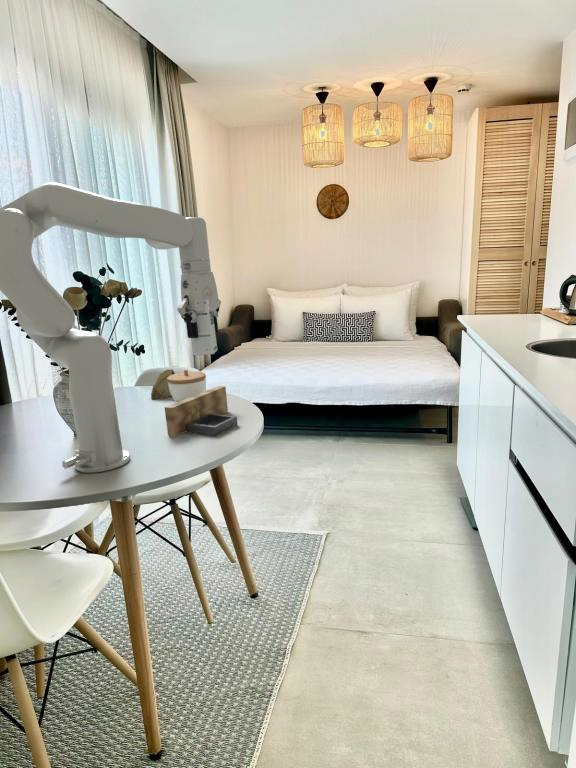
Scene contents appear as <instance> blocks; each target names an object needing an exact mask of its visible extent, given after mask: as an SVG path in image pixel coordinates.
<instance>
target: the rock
mask: <svg viewBox="0 0 576 768" xmlns="http://www.w3.org/2000/svg"><path fill="white" fill-rule="evenodd" d="M173 374H176V373H175V372H174V369H166V370H164V371H163V372H161V373H160V374H159V375H158V377H157V380H156V381H155V383H154V384H153V386H152V389H151V394H150V399H152V400H153V399H162V398H161V397H164V398H168V397H167V396H171V394H170V391H169V386H168V381H167V378H168V377H169V376H171V375H173Z"/></svg>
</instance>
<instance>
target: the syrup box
mask: <svg viewBox="0 0 576 768" xmlns="http://www.w3.org/2000/svg"><path fill="white" fill-rule="evenodd" d="M204 304H205V311H204V312H200V313H198V312H197V316H196V320H195V322H197V327H198V338H190V341H191V348H192V355H194V356H206V355H208V356H209V355H215V353H216V352H217V351H218V350H219V349H218V343H217V335H216V334H217V333H215V325H214V317H213V311H212V310H210V306H209V300H208V299H204ZM187 309H188V310H192V308H191V306H190V304H188V306H187ZM189 315H190V316H192V314H189Z"/></svg>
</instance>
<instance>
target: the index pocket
mask: <svg viewBox="0 0 576 768" xmlns="http://www.w3.org/2000/svg"><path fill="white" fill-rule="evenodd" d="M210 424H215V425H210ZM237 426H238V417H237V416H234V415H226V414H222V415H219V414H210V413H208V414H206V415H204V416H202V417H199V418H197V419H195V420H193V421H191V422H188V423H186V430H187V431H186V433H188V432H190V434H195V433H196V435H202V434H203V436H209V435H210V436H211V437H217V435H218V436H220V435H222V434H223V433H225V432H227V431H229V430H230V429H231V430H232V429H233V428H235V427H237ZM210 436H209V437H210Z"/></svg>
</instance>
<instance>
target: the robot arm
mask: <svg viewBox="0 0 576 768" xmlns="http://www.w3.org/2000/svg"><path fill="white" fill-rule="evenodd" d="M56 226H58V227H59V226H60V227H64V228H68V229H72V230H76V231H77V230H78V231H82V232H85V233H88V234H89V233H90V234H93V235H97V236H101V237H105V238H115V239H124V238H125V239H127V238H128V239H144V240H145V242H146V243H147V245H149V246H150V247H151V248H153V249H156V250H169V249H177V248H178V253H179V261H180V266H179V267H180V269H181V275H180V297H181V303H179V306H178V307H177V308H176V309H177V310H176V311H177V312H178V314H179V315H180V318H182V319H183V322H184V324H185V326H186V335H187V338H189V339H191V338H198V327H197V322H195V320H196V316H197V312H198V313H200V312H204V311H205V304H204V299H208V300H209V306H210V310H212V311H213V317H214V325H215V333H216V334H218V333H219V324H218V317H219V312H220V307H221V304H222V301H221V300H220V299H219V293H218V289H217V288H218V287H217V283H216V279H215V275H214V273H213V271H212V268H211V260H210V249H209V238H208V232H207V231H208V230H207V223H206V221H205V218H202V217H199V216H198V217H197V216H195V217H194V216H192V217H186V216H184V215H182V214H179V213H177V212H174V211H170V210H167V209H164V208H161V207H157V206H152V205H147V204H141V203H136V202H130V201H125V200H120V199H114V198H111V197H108V196H104V195H100V194H96V193H94V192H90V191H85V190H83V189H80V188H76V187H73V186H69V185H66V184H62V183H59V182H47V183H44V184H42V185H39V186H37V187H35V188H33V189H31V190H29V191H28V192H26V193H24V194H23V195H22V196H20V197H18V198H17V199H14V200H13V201H11V202H9V203H7V204H6V205H4V206H2V207H0V292H1V293H2V294H3V295H4V296H5V297H6V299H7V300H8V301H9V302H10V303H11V304H12V306H13V307H14V308H15V309H16V313H15V314H16V320H17V322H18V324H19V326H20V328H21V329H22V331H23V332H25V333H26V335H27V336H28V337H29V338H30V339H31V340H32V341H33V342H34V343H35V344H36V345H37V346H38V347H39V348H40V349H41V350H42V351H43V352H44V353H45V354H46V355H47V356H48V357H49V358H50V359H51V360H52V361H53V362H54V363H56V364H57V365H58V366H60V367H62V368H64V369H67V370H68V388H69V389H68V391H69V392H68V393H69V397H70V404H71V408H72V414H73V420H74V428H75V432H76V437H77V438H76V439H77V444H78V449H75V450H74V452H75V454H74V455H73V457H71V458H70V457H69V458H67V459H65V460H63V461H62V462H61V464H62V467H63V468H64V469H65V470H67V469H69V468H71V467H74V468H75V469H76V471H79V472H81V473H88V474H89V473H92V474H94V473H100V472H107V471H111V470H114V469H117V468H121V467H122V466H123V465H126V464H127V463H128V462H129V461H130V460H131V454H130V452H129V451H128V450H125V449H123V444H122V439H121V437H122V436H121V431H120V430H121V429H120V425H119V423H120V422H119V418H118V411H117V410H118V409H117V404H116V398H115V392H114V391H115V390H114V386H113V385H114V383H113V367H112V366H113V356H112V350H111V347H110V344H109V343H108V341H107V340H106V339H105V338H103V337H102V335H100V334H99V333H98V334H97V333H95V332H92V331H88V330H81V329H80V328H78V327H77V326H76V324H75V323H76V314H75V311H74V310H73V308H72V306H71V305H70V303H68V301H67V300H66V299H65V298H64V297H63V296H62V295H61V294H60V293H59V291H57V289H55V287H54V286H53V285H52V284H51V282H49V281H48V280H47V278H46V277H45V276H44V274H42V272H41V270H40V269H39V267H37V265H36V263H35V261H34V258H33V250H32V249H33V244H34V240H35V239H36V238H38V237H40V236H41V235H42V234H44V233H46V232H47V231H48V230H50V229H51V228H53V227H56ZM188 304H190V306H191V308H192V310H188V309H187V306H188ZM189 314H192V316H190V315H189Z"/></svg>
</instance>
